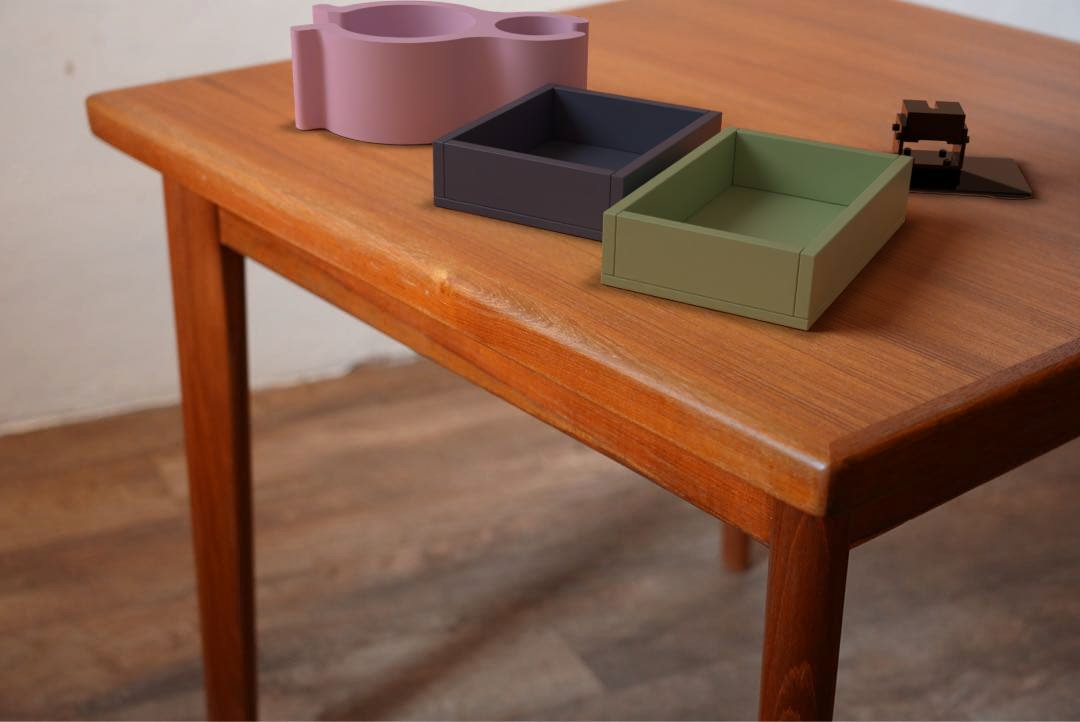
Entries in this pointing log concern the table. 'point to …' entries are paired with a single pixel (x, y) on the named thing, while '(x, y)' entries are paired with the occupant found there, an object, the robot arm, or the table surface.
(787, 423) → the table surface
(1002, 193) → the dark piece
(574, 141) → the blue bin
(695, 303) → the green bin
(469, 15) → the pink double dish
